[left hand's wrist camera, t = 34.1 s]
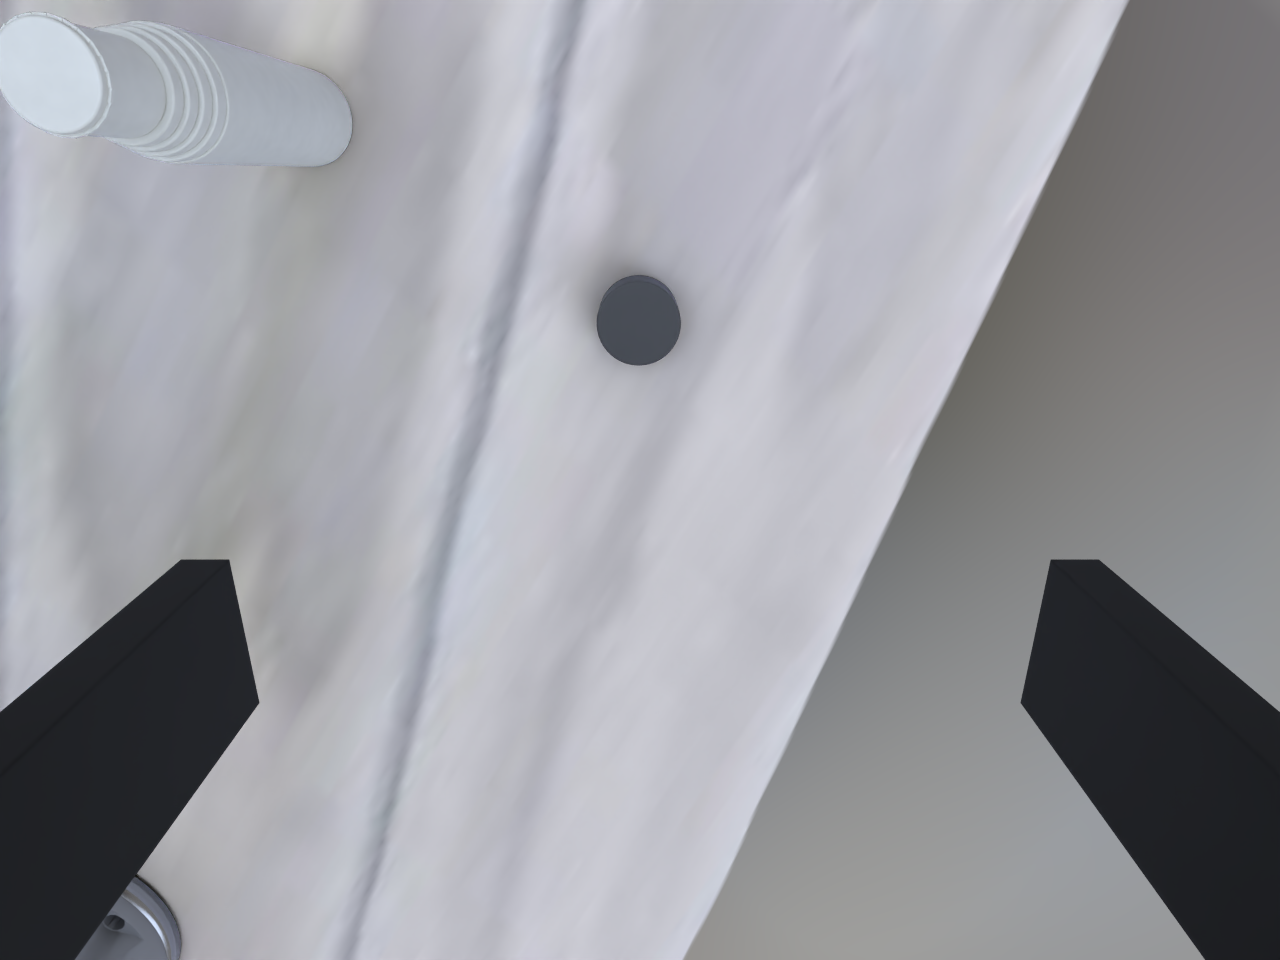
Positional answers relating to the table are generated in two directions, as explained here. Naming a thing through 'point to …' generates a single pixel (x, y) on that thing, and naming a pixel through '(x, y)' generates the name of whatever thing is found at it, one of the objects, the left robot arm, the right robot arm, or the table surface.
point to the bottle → (170, 93)
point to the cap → (638, 320)
